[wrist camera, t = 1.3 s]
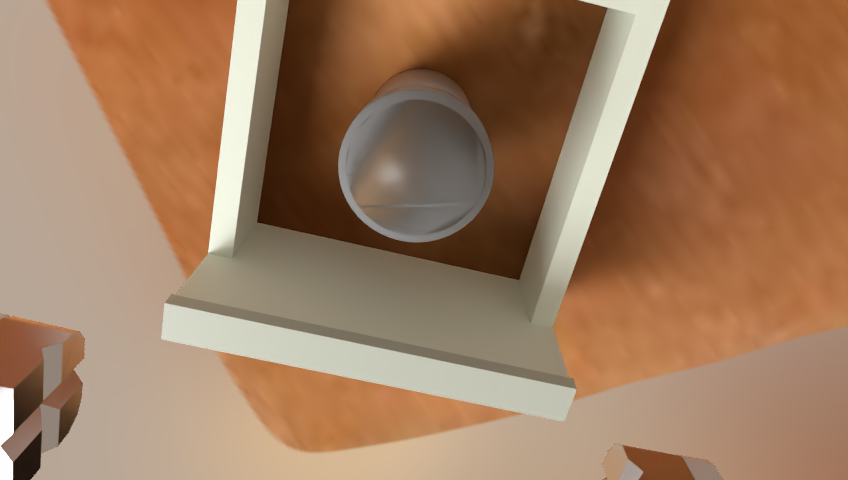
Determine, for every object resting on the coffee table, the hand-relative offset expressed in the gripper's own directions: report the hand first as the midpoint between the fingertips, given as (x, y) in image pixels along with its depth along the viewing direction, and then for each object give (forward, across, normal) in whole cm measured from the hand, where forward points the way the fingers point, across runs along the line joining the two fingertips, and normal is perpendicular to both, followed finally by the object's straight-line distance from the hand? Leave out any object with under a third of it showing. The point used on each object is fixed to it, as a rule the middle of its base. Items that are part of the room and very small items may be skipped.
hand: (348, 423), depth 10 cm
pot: (+27, -1, 0) cm, 27 cm away
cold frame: (+27, -1, 0) cm, 27 cm away
